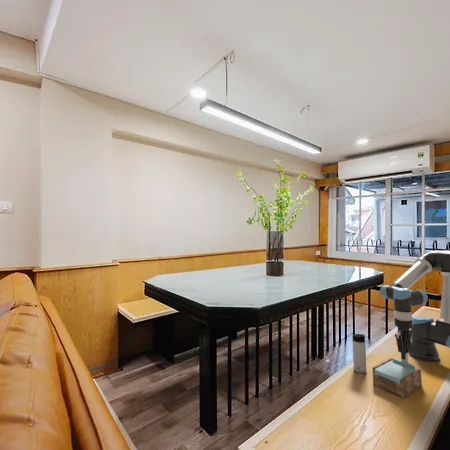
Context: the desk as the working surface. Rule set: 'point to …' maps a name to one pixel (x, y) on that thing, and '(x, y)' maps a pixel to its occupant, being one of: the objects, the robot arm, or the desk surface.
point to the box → (401, 390)
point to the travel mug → (359, 353)
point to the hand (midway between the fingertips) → (404, 365)
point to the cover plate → (395, 370)
